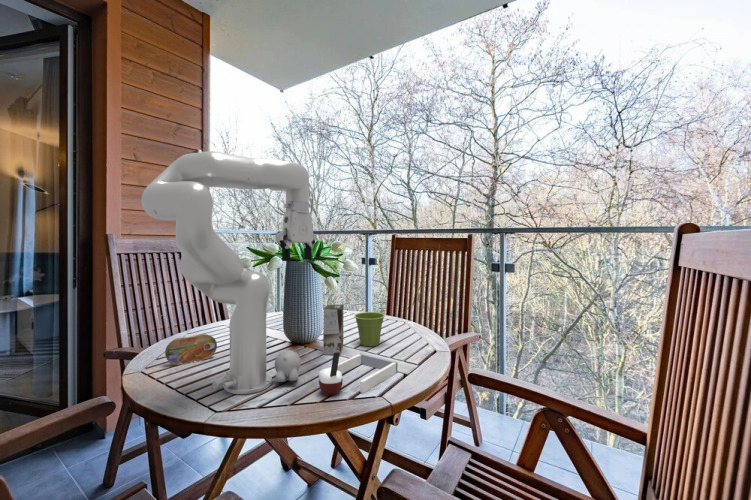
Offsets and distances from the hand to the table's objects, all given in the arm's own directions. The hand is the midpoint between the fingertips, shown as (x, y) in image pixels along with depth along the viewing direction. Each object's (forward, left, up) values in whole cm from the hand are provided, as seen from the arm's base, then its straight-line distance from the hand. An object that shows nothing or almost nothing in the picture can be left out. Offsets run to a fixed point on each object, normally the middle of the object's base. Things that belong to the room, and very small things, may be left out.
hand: (297, 260), depth 116 cm
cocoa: (-13, -26, -34) cm, 44 cm away
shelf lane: (+1, -26, -33) cm, 42 cm away
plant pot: (+28, -10, -34) cm, 45 cm away
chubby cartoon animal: (-13, -10, -34) cm, 37 cm away
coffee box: (+14, -4, -34) cm, 37 cm away
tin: (-21, +27, -34) cm, 48 cm away
